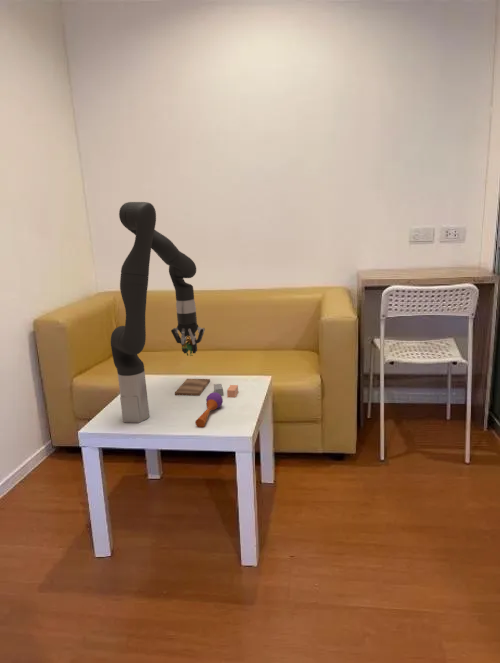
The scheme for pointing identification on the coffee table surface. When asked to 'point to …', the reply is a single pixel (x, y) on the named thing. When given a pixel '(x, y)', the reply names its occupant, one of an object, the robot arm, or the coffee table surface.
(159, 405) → the coffee table surface
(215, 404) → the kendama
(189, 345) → the figurine
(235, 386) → the terracotta brick
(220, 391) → the slate-grey brick
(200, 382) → the walnut board
